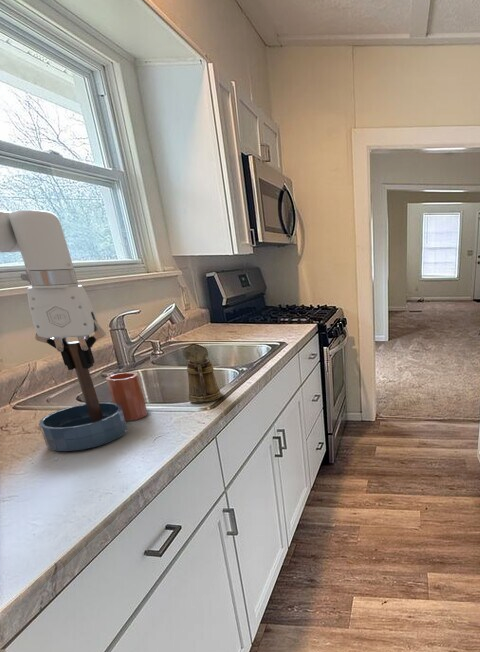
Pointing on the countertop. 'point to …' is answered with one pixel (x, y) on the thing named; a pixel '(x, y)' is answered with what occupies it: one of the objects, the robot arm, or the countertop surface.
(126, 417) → the holder
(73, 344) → the stick
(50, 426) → the bowl
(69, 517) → the countertop surface
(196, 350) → the wooden mug
